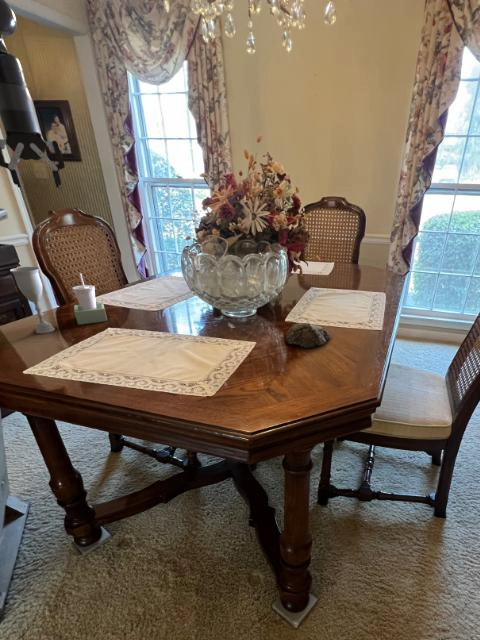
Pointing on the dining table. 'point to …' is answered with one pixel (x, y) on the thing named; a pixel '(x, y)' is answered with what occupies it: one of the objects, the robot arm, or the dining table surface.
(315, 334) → the dark rough stone
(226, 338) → the dining table surface
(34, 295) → the chalice
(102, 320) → the holder
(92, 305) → the smoothie
